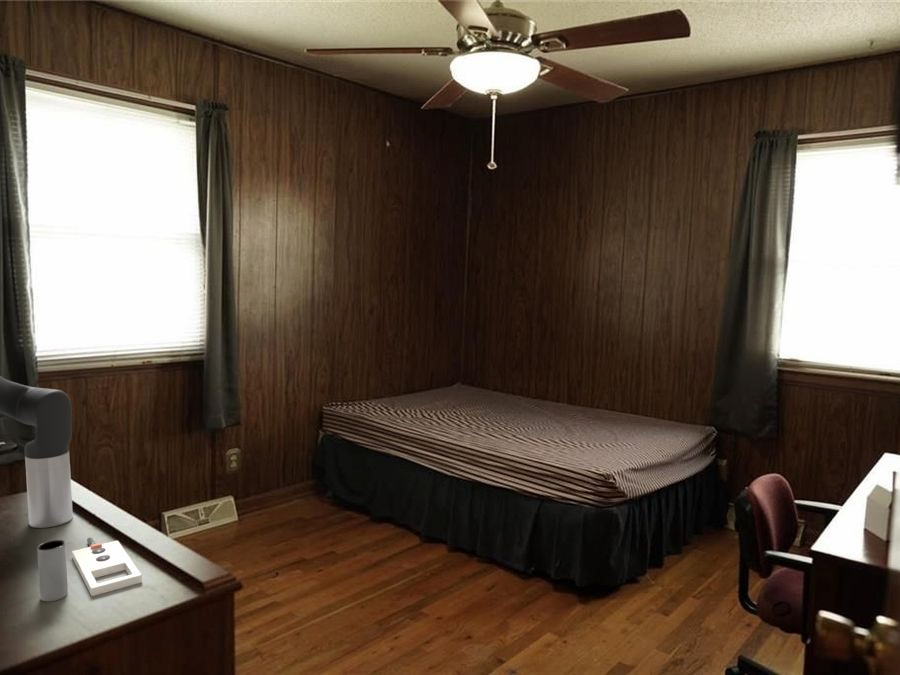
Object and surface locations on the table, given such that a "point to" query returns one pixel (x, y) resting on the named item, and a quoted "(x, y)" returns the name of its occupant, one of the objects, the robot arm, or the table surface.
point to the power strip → (105, 566)
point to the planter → (52, 570)
